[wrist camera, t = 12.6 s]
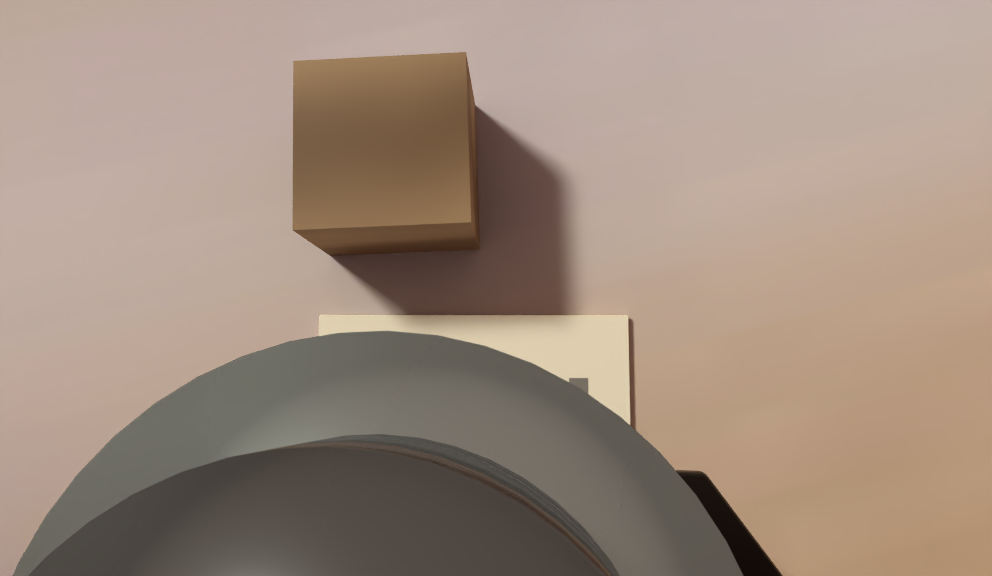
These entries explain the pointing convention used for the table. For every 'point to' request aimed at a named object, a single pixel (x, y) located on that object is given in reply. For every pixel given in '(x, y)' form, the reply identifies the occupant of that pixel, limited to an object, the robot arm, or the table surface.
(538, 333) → the letter
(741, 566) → the robot arm
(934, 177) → the table surface
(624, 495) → the bottle
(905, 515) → the table surface
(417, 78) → the walnut block
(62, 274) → the table surface
